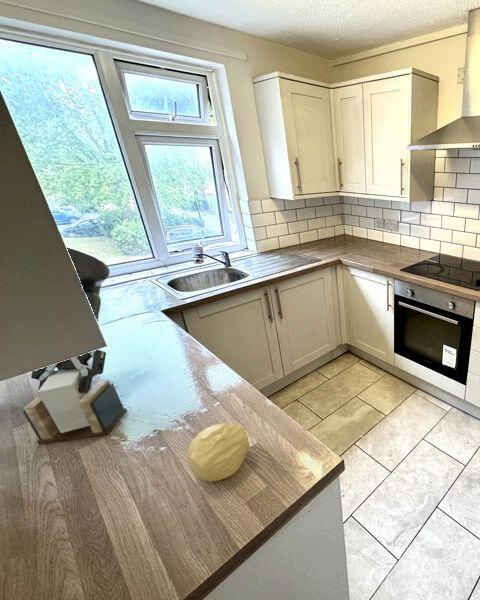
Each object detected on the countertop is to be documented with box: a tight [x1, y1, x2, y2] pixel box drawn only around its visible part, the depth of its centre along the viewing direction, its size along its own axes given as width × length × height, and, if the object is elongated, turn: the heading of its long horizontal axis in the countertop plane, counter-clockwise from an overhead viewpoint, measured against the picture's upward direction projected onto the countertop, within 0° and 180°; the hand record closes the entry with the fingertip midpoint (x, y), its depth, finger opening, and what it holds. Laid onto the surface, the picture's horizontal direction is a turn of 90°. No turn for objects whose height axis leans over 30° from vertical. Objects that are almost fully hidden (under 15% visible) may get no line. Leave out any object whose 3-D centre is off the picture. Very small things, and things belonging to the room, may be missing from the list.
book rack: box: [22, 379, 128, 445], centre depth 84 cm, size 15×9×11 cm, turn 101°
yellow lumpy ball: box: [187, 423, 250, 482], centre depth 73 cm, size 11×12×11 cm
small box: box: [37, 369, 93, 433], centre depth 82 cm, size 8×6×13 cm
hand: (63, 394), depth 80 cm, fingers closed on small box, 7 cm apart
